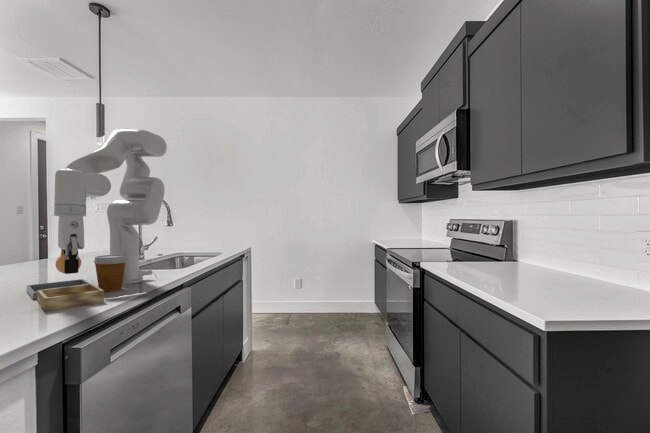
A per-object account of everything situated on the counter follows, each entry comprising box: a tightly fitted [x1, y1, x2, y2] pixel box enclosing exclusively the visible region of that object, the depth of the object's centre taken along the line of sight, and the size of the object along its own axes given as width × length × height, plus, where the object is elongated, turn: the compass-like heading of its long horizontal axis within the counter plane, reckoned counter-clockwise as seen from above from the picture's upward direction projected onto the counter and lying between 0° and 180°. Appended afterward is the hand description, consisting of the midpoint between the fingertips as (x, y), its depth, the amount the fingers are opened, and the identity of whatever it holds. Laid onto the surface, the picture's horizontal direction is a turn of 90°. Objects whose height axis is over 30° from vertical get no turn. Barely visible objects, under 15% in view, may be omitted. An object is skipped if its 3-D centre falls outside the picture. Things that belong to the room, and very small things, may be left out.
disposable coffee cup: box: [93, 254, 127, 293], centre depth 111 cm, size 10×10×12 cm
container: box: [26, 278, 92, 301], centre depth 108 cm, size 15×15×2 cm
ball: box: [55, 254, 82, 274], centre depth 97 cm, size 6×6×6 cm
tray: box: [36, 283, 105, 312], centre depth 97 cm, size 14×14×4 cm
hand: (68, 271), depth 97 cm, fingers closed on ball, 6 cm apart
